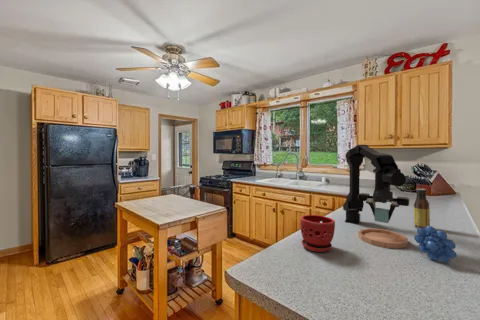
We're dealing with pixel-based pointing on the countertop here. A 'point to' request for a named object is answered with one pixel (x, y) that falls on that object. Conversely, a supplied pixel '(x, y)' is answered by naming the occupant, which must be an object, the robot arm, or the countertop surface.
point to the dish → (383, 238)
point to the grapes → (435, 244)
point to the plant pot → (317, 232)
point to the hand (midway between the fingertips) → (382, 218)
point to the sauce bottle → (421, 210)
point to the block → (382, 215)
